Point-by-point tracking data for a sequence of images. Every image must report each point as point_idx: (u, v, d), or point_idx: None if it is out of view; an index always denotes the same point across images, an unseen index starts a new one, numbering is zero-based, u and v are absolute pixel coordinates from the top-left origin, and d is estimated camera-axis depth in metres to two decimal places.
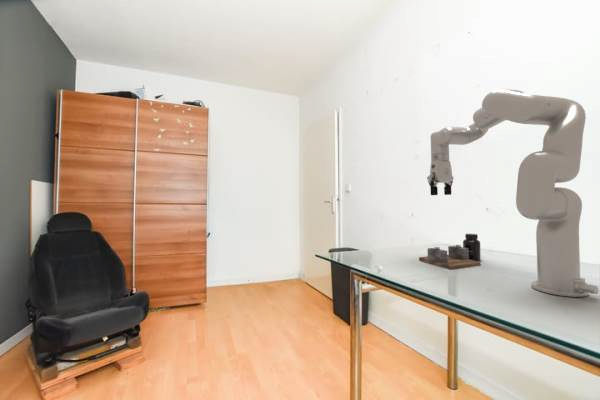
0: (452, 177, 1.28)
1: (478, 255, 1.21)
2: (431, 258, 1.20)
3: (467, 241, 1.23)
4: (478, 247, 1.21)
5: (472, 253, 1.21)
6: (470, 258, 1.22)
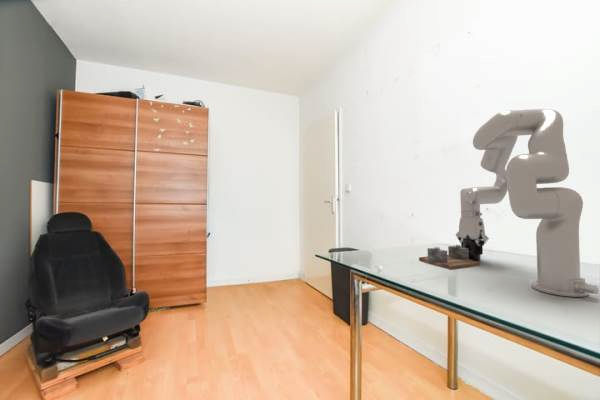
0: None
1: (478, 255, 1.21)
2: (431, 258, 1.20)
3: (467, 241, 1.23)
4: None
5: (472, 253, 1.22)
6: (470, 258, 1.22)
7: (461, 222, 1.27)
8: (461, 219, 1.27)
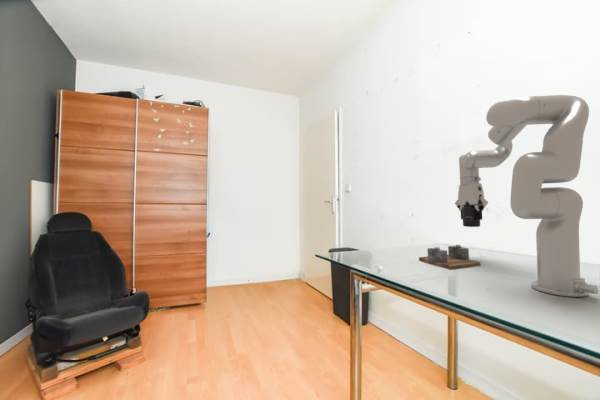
0: None
1: (478, 220, 1.21)
2: (431, 258, 1.20)
3: (466, 207, 1.23)
4: None
5: (472, 219, 1.21)
6: (470, 224, 1.21)
7: (460, 189, 1.26)
8: (460, 186, 1.26)
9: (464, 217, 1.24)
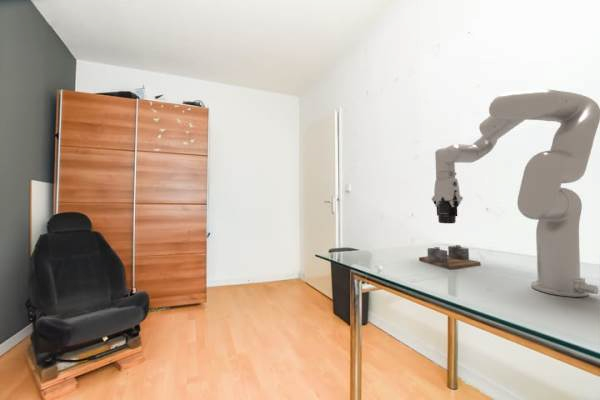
0: (434, 198, 1.27)
1: (453, 217, 1.17)
2: (431, 258, 1.20)
3: (442, 203, 1.19)
4: None
5: (447, 215, 1.17)
6: (445, 220, 1.18)
7: (436, 185, 1.22)
8: (436, 181, 1.22)
9: (439, 213, 1.20)
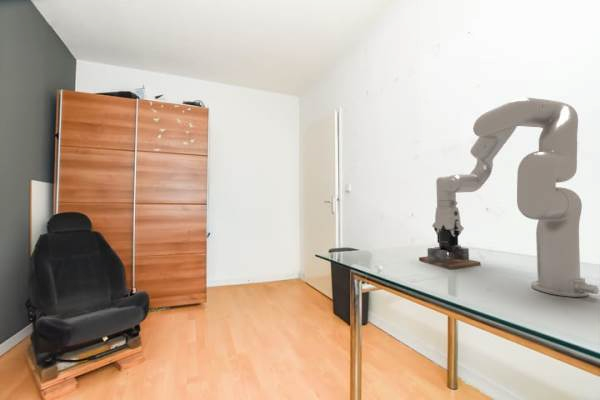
0: (435, 224, 1.27)
1: (453, 246, 1.17)
2: (431, 258, 1.20)
3: (442, 231, 1.19)
4: None
5: (447, 244, 1.17)
6: (445, 249, 1.18)
7: (437, 212, 1.22)
8: (437, 209, 1.22)
9: (440, 241, 1.20)
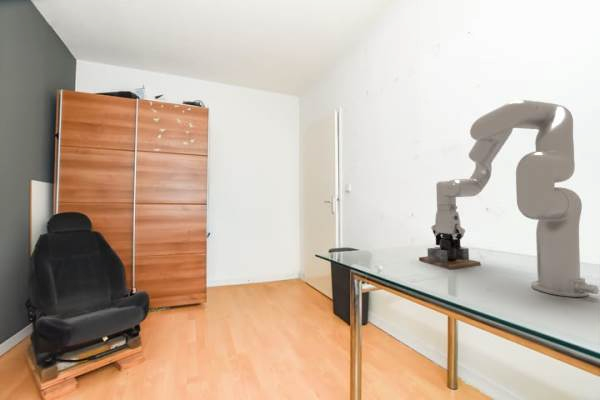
0: (434, 226, 1.28)
1: (454, 254, 1.17)
2: (431, 258, 1.20)
3: (443, 240, 1.19)
4: None
5: (448, 253, 1.17)
6: None
7: (437, 217, 1.22)
8: (437, 213, 1.22)
9: None
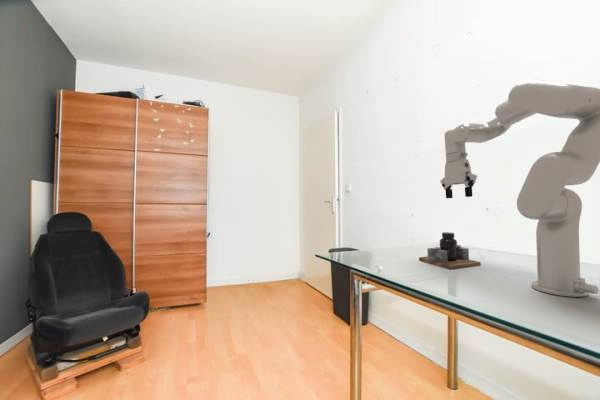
0: None
1: (454, 255, 1.17)
2: (431, 258, 1.20)
3: (443, 240, 1.18)
4: (454, 246, 1.17)
5: (448, 253, 1.17)
6: None
7: (446, 168, 1.18)
8: (446, 164, 1.18)
9: None
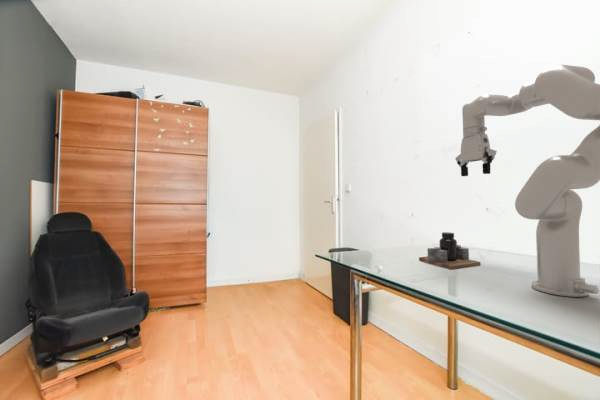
0: None
1: (454, 255, 1.17)
2: (431, 258, 1.20)
3: (443, 240, 1.19)
4: (454, 246, 1.17)
5: (448, 253, 1.17)
6: None
7: (463, 144, 1.12)
8: (463, 140, 1.12)
9: None
